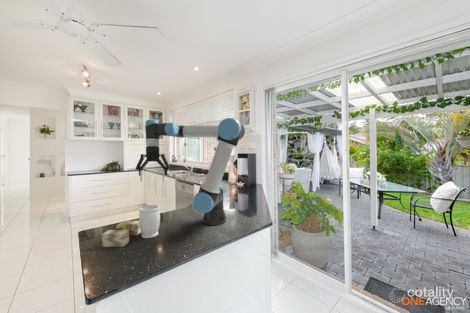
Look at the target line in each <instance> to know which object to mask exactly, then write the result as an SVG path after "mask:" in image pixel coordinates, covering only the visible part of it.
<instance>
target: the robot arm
mask: <svg viewBox="0 0 470 313" xmlns="http://www.w3.org/2000/svg"><path fill="white" fill-rule="evenodd" d="M144 125H145V127H144V129H145V154H144V153H141V154H140V158H139V160H138V162H137V164H136V166H135V170H138V176H139V178H140V182H144V181H145V173H144V172H145V171H144V168H145V167H146V166H147V164H148V163H149V162H156V163H158V164H159V166H161V168H162V169H163V170H162V182H166V181H167V176H168V170H170V169H171V166H170V164H169V163H168V161H167V158H166V155H165V153H160V137H166V136H167V137H175V138H180V139H182V138H212V139H213V138H215V139H216V141H217V146H216V149H215V151H214V154H213V158H212V160H211V163H210V166H209V168H208V172H207V175H206V177H205V179H204V180H205V181H204V183H202V184H200V186H199V190H198V192H197V193H196V194H195V195H194V197H193V200H192V205H193V207H194V209H195V210H196V211H197V212H199V213H201V214H203V215H202V220H201V221H202V224H204V225H206V226H207V225H208V226H219V225H223V224H225V223H226V222H227V215H226V212H225V209H224V186H223V185H221V184H222V180H223V177H224V174H225V173H226V169H227V166H228V163H229V161H230V158H231V154H232V153H233V149H234V148H236V147H238V143H239V141H241V139H242V138H244V136H245V133H246V131H245V130H246V129H245V126H244V124H243V123H242V122H240V121H239V120H238V119H237V118H233V117H226V118H224V119H222V120H221V121H220V122H219V124H218V125H179V124H177V123H176V122H163V123H162V122H161V123H160V122H159V120H158V119H146V121H145V124H144ZM145 158H146V159H145ZM160 158H161V159H162V161H161V159H160Z"/></svg>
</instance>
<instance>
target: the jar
mask: <svg viewBox="0 0 470 313" xmlns="http://www.w3.org/2000/svg"><path fill="white" fill-rule="evenodd" d="M160 208H161V206H160V205H158V204H152V205H151V204H148V205H143V206H141V207H139V208H138V211H139V215H138V221H139V225H140V230H141V232H140V233H141V238H142V239H152V238H155V237H157V236H158V235H159V228H160V224H161V213H160Z"/></svg>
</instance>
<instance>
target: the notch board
mask: <svg viewBox="0 0 470 313" xmlns="http://www.w3.org/2000/svg"><path fill="white" fill-rule="evenodd" d="M129 221H130V236H138V235H139V234H140V233H142V232H141V230H140V225H139V220H129ZM101 241H102V242H101V244H102V245H101V246H102V247H104V248H106V247H107V248H108V247H110V248H111V247H113V248H114V247H115V248H117V247H122V248H123V247H125V245H127V244H128V243H129V242H130V237H129V230H116V229H108V230H106V231H104V232H103V233H101Z"/></svg>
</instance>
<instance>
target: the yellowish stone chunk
mask: <svg viewBox="0 0 470 313" xmlns="http://www.w3.org/2000/svg"><path fill="white" fill-rule="evenodd" d="M130 221H131V220H123V221H120V222H119V223H118V224H116V227H115V228H116V229H115V230H129V238H130V237H131V235H130Z"/></svg>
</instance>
